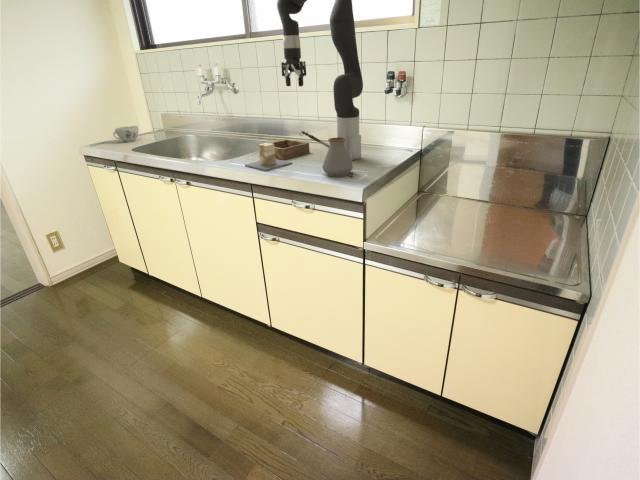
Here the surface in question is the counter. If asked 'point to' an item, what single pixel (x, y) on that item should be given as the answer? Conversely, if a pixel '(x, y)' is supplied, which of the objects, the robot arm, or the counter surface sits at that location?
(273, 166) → the charcoal mat
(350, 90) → the robot arm
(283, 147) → the walnut crate
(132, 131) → the teacup
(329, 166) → the coffee pot
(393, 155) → the counter surface
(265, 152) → the maple block
